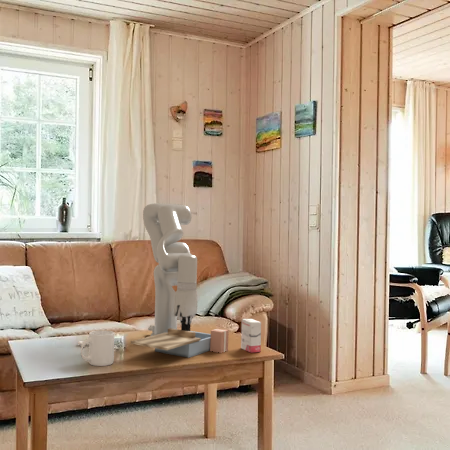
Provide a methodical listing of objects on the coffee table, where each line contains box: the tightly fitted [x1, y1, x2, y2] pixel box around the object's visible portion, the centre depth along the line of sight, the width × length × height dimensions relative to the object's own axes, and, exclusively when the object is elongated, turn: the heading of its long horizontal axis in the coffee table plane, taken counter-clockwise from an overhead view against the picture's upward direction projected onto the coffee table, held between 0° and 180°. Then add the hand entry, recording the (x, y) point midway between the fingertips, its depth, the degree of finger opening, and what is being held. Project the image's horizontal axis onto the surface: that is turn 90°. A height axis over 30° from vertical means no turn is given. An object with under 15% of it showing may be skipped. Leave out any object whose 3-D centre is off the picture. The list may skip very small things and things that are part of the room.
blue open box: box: [154, 330, 211, 358], centre depth 228 cm, size 16×20×5 cm
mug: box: [80, 329, 115, 367], centre depth 203 cm, size 9×12×11 cm
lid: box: [130, 328, 201, 350], centre depth 216 cm, size 17×21×3 cm
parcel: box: [210, 328, 230, 354], centre depth 227 cm, size 5×5×8 cm
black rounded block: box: [77, 335, 89, 349], centre depth 231 cm, size 9×8×4 cm
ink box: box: [240, 318, 262, 354], centre depth 230 cm, size 9×5×12 cm, turn 24°
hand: (185, 333), depth 226 cm, fingers closed
